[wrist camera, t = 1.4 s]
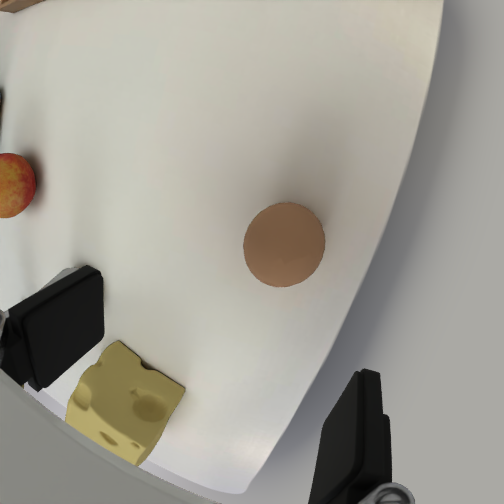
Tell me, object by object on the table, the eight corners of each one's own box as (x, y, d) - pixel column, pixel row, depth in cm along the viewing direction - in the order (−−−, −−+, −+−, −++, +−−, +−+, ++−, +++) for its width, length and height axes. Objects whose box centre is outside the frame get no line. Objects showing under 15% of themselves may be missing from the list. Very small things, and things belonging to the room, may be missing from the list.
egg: (264, 190, 24) (228, 211, 16) (332, 200, 22) (327, 227, 15) (258, 254, 25) (222, 298, 18) (322, 266, 24) (311, 317, 17)
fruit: (28, 134, 29) (-24, 141, 21) (54, 181, 29) (-2, 196, 22) (8, 177, 32) (-38, 189, 25) (32, 222, 33) (-17, 241, 25)
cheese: (117, 337, 34) (63, 386, 25) (192, 390, 33) (151, 453, 24) (105, 381, 38) (63, 425, 29) (168, 426, 37) (133, 477, 28)
